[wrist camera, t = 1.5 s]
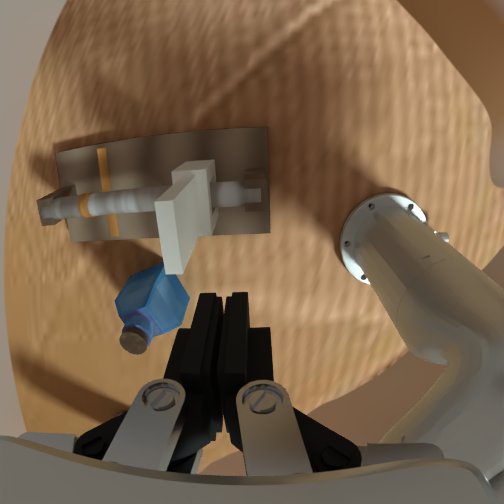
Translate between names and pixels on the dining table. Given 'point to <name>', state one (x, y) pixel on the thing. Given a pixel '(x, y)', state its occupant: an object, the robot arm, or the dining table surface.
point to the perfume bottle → (150, 307)
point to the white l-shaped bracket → (185, 213)
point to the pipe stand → (159, 183)
